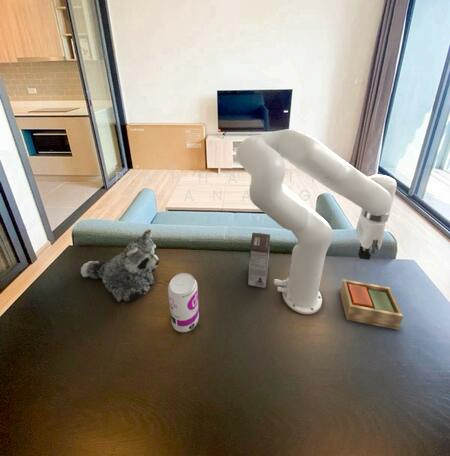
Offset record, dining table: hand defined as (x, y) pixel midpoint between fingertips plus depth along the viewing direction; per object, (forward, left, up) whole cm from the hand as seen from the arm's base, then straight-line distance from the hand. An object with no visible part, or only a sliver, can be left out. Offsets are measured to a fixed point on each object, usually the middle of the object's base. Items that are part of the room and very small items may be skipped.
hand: (363, 257), depth 84 cm
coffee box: (-35, -7, -10) cm, 38 cm away
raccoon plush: (-82, -21, -10) cm, 86 cm away
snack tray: (0, -12, -10) cm, 15 cm away
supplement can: (-55, -28, -10) cm, 63 cm away
